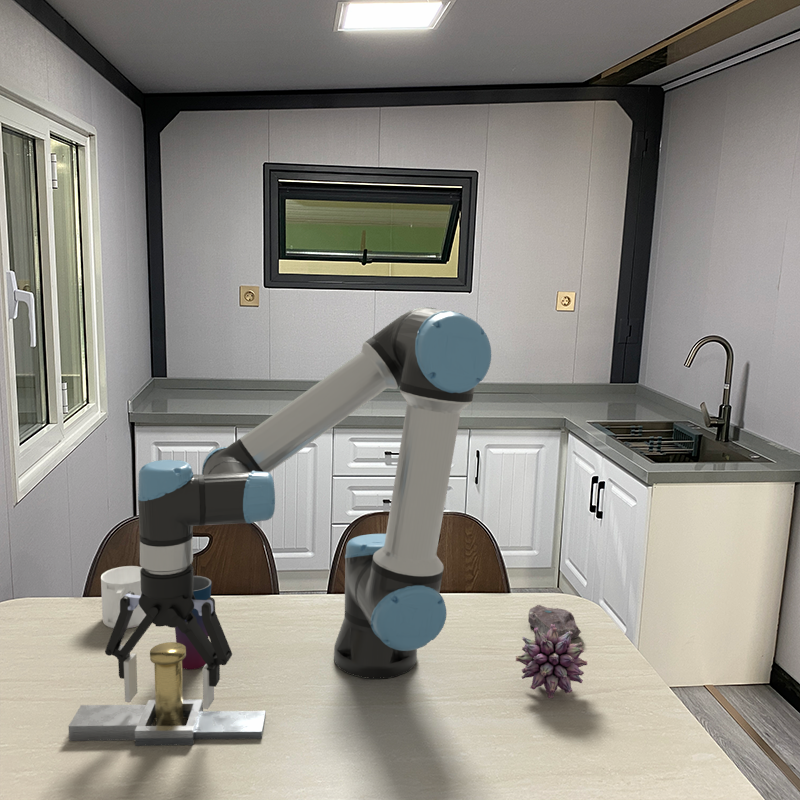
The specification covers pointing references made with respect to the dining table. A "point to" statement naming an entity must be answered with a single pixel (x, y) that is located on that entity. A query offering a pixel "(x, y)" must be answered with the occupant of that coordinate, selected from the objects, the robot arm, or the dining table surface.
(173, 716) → the pin
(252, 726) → the grey metal base plate
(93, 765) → the dining table surface
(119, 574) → the mug
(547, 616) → the rock
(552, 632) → the flower
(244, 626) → the dining table surface
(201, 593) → the cup
